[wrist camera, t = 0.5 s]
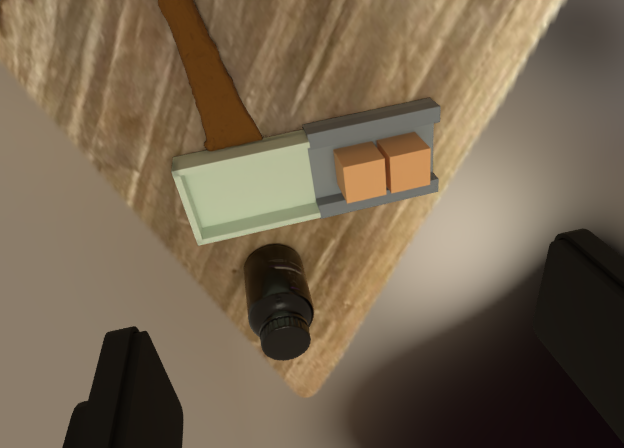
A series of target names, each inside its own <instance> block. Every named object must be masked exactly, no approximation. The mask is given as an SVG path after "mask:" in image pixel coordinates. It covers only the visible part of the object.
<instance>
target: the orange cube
mask: <svg viewBox="0 0 624 448" xmlns="http://www.w3.org/2000/svg"><path fill="white" fill-rule="evenodd" d="M377 149H378V150H379V151H380V153H381V154H382V156H383V157H384V158H385V174H386V186H387V188H388V189H389V191H390V192H391V193H396V192H400V191H405V190H409V189H413V188H418V187H422V186H426V185H430V162H431V148H430V147H429V146H428V145H427V144H426V143H425V142H424V141H423V140H422V139H421V138H420V137H419V136H418V135H417V134H416V133H415V132H411V133H406V134H402V135H397V136H393V137H388V138H383V139H379V140H377Z"/></svg>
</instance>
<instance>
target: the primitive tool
mask: <svg viewBox="0 0 624 448" xmlns="http://www.w3.org/2000/svg"><path fill="white" fill-rule="evenodd" d="M158 6H159V7H160V9H161V12H162V14H163V15H164V17H165V18H166V20H167V22H168V24H169V26H170V29H171V31H172V33H173V37H174V39H175V42H176V44H177V47H178V50H179V54H180V56H181V59H182V62H183V65H184V67H185V70H186V73H187V76H188V79H189V84H190V85H191V88H192V94H193V95H194V98H195V100H196V102H195V103H196V106H197V108H198V111H199V113H200V116H201V120H202V125H203V128H204V130H205V134H206V139H207V141H206V142H205V144H204V146H205V147H206V148H207V150H208V151H211V152H212V151H215V150H219V149H225V148H228V147H232V146H238V145H242V144H246V143H250V142H254V141H260V140H262V136H261V134H260V132H259V129H258V128H257V126H256V125H255V123H254V121H253V120H252V118H251V116H250V115H249V113H248V112H247V110H246V108H245V107H244V105H243V103H242V102H241V100H240V98H239V96H238V94H237V91H236V89H235V87H234V85H233V80H232V79H231V78H230V77H229V76H228V74H227V71H226V69H225V67H224V65H223V63H222V61H221V60H220V57H219V52H218V50H217V48H216V45H215V44H214V43H213V41H212V40H211V39H210V37H209V35H208V33H207V30H206V28H205V26H204V23H203V21H202V19H201V17H200V15H199V13H198V11H197V9H196V5H195V4H194V2H193V0H158Z"/></svg>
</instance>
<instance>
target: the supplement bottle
mask: <svg viewBox="0 0 624 448" xmlns="http://www.w3.org/2000/svg"><path fill="white" fill-rule="evenodd" d="M244 275H245V288H246V299H247V310H248V320H249V325H250V327H251V329H252V330H253V332H254V333H255V334H256V335H257V336H259V337H260V340H261V347H262V350H263V352H264V353H265V354H266V355H267V356H268V357H270V358H272V359H274V360H283V361H284V360H290V359H294V358H296V357H298V356H300V355H302V354H303V353H304V352H305V351H306V350H307V349H308V347H309V344H310V340H311V338H310V333H309V327H310V325H311V323H312V321H313V318H314V308H313V303H312V299H311V295H310V292H309V288H308V284H307V280H306V276H305V272H304V268H303V265H302V261H301V259H300V257H299V256H298V254H297V253H296V252H295V251H293V250H292V249H290V248H288V247H285V246H281V245H270V246H266V247H263V248H260V249H258V250H257V251H255V252H254V253H253V254H252V255H251V256H250V257H249V258H248V260H247V262H246V264H245V269H244Z"/></svg>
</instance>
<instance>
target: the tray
mask: <svg viewBox="0 0 624 448" xmlns="http://www.w3.org/2000/svg"><path fill="white" fill-rule="evenodd" d="M308 148H310V144H309V140H308V138H307V136H306V134H305V132H304V130H299V131H294V132H289V133H285V134H280V135H275V136H271V137H266V138H262V140H260V141H254V142H250V143H246V144H242V145H238V146H232V147H228V148H225V149H219V150H215V151H212V152H211V151H208V150H205V151H200V152H196V153H191V154H186V155H182V156H177V157H173V162H172V170H171V172H172V175H173V178H174V180H175V183H176V186H177V189H178V191H179V194H180V197H181V200H182V202H183V205H184V208H185V211H186V213H187V216H188V219H189V222H190V224H191V227H192V230H193V233H194V235H195V238H196V241H197V244H198V246H199V245H203V244H208V243H212V242H216V241H221V240H225V239H229V238H234V237H238V236H242V235H247V234H251V233H255V232H260V231H264V230H268V229H273V228H277V227H281V226H286V225H290V224H294V223H299V222H303V221H308V220H312V219H316V218H321V215H320V211H319V208H318V206H317V203H316V199H315V192H314V186H313V180H312V173H311V167H310V161H309V155H308Z"/></svg>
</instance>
